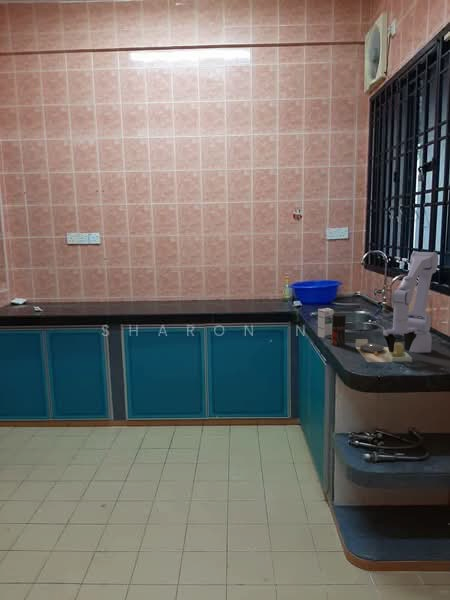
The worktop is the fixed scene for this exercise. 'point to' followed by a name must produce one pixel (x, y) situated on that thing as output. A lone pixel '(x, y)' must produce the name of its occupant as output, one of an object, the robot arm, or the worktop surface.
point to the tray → (399, 359)
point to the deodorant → (338, 329)
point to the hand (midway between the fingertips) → (399, 351)
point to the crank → (369, 346)
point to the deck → (375, 356)
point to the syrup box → (325, 322)
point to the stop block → (398, 350)
